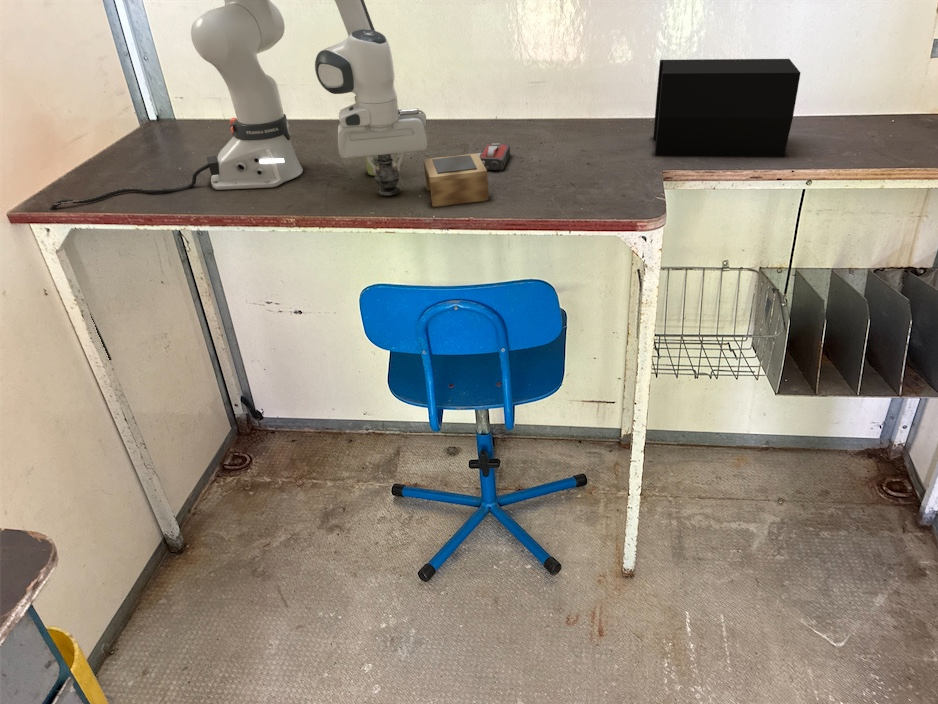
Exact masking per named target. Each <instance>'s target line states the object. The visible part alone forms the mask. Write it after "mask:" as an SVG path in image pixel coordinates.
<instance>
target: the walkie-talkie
mask: <svg viewBox="0 0 938 704" xmlns="http://www.w3.org/2000/svg"><path fill="white" fill-rule="evenodd" d="M477 154H478V155H479V157H480V159H481V161H482V163H483V164H484V166H485V168H486V170H487V171H503V170H504V168H505V167H506V164H507V163H508V160H509V158H510V157H511V146H510V145H509V144H508V143H494V142H492V143H490V142H489V143H488V144H486V145H485V146H484V148H483V149H482V151H481V152H477Z"/></svg>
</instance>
